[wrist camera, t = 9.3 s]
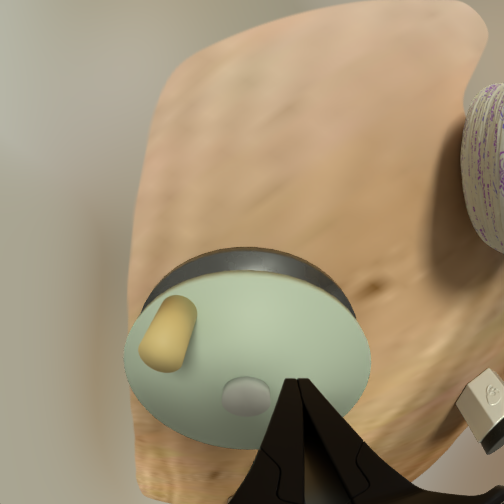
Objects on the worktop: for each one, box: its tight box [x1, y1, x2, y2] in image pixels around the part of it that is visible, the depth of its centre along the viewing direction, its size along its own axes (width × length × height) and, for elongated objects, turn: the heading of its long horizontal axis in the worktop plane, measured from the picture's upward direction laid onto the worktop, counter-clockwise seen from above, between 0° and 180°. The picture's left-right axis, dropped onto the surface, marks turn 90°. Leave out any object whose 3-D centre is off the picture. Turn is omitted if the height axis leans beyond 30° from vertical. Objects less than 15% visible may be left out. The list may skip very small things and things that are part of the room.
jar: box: [456, 368, 504, 455], centre depth 23 cm, size 9×8×12 cm
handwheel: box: [124, 270, 371, 450], centre depth 18 cm, size 20×20×6 cm
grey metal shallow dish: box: [141, 247, 356, 319], centre depth 22 cm, size 20×20×4 cm
